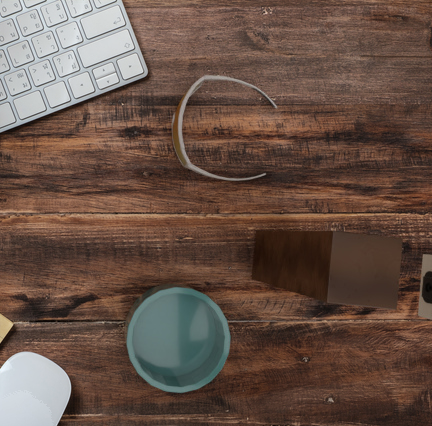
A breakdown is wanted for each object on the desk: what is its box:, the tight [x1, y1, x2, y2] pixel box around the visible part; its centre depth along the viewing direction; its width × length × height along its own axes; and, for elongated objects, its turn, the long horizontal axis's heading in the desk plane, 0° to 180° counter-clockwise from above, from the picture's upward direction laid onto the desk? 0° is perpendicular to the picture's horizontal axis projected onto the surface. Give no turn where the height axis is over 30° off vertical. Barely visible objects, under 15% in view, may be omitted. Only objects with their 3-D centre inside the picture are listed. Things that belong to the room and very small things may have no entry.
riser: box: [251, 229, 404, 311], centre depth 58 cm, size 7×7×22 cm
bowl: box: [123, 282, 232, 394], centre depth 65 cm, size 14×14×5 cm
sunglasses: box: [171, 74, 278, 182], centre depth 67 cm, size 14×15×5 cm
